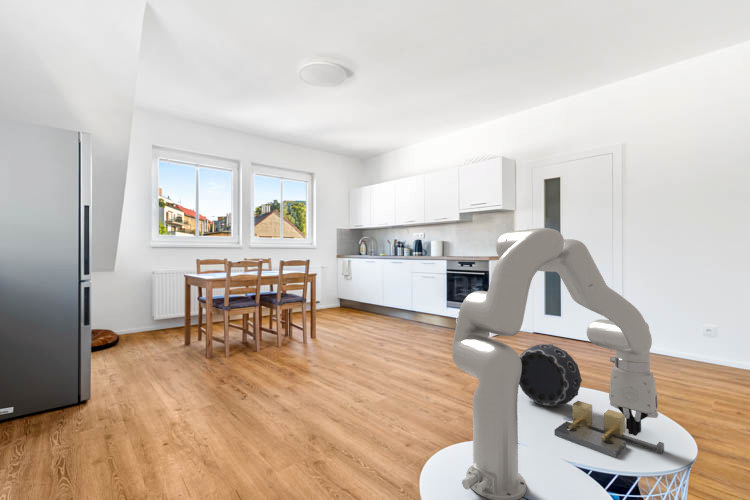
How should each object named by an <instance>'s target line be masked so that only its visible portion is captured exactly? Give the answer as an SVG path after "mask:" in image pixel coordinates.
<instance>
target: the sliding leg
mask: <svg viewBox="0 0 750 500" xmlns="http://www.w3.org/2000/svg"><path fill="white" fill-rule="evenodd" d="M603 428H604V432H606V433H605V434H604V435H603V436H602V437H601V440H604V441H605V440H606V439H607V438H608V437H610V436H611V435H612V434H614V435H617V436H620V437H621V436H622V435H625V434H626V418H625V417H624V414H623V413H622V412H619V411H615V410H611V409H607V410H606V411H605V412H603Z"/></svg>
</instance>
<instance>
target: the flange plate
mask: <svg viewBox="0 0 750 500" xmlns="http://www.w3.org/2000/svg"><path fill="white" fill-rule="evenodd" d="M571 423H572V422H570V421H564V422H563V423H562V424H560V425H559V426H558V427H556V428H555V429H554V431H553V432H554V436H555V437H559V438H562V439H565V440H567V441H569V442H572V443H575V444H578V445H580V446H583V447H585V448H589V449H591V450H593V451H597V452H599V453H602V454H605V455H607V456H610V457H611V458H612V457H613V458H615V459H617V458H618V456H619V455H620V454H621V453H622V452H623V451H624V450H625V449H626V448H627V442H626V441H624V440H621V439H618V438H615V437H612V436H610V437H608V438H607V439H606V440H605V441H604V440H601V437H602V436H603V435H604V434H603V433H600V432H597V431H594V430H591V429H588V428H585V427H582V426H579V425H577V426H575V427H574V428H573V429H569V425H570V424H571Z"/></svg>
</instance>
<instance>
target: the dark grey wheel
mask: <svg viewBox="0 0 750 500" xmlns="http://www.w3.org/2000/svg"><path fill="white" fill-rule="evenodd" d="M519 357H520V359H521V363H522V372H521V377H520V382H519V388H520V389H521V391H522V392H523V393H524V394H525V395H526V396H527V397H528V399H530V400H531V401H533V402H535V403H537V404H539V405H541V406H545V407H550V408H551V407H553V408H554V407H560V406H563V405H566V404H568V403H570V402H571V401H573V399H574V398H575V397H577V396H578V395H579V390H580V388H581V384H582V382H583V379H582V377H581V373H580V368H579V365H578V363H577V362H576V361H575V359H573V357H572V356H571V355H570V353H568V351H567V350H565V349H562V348H560V347H558V346H555V345H553V344H552V343H548V344H546V343H544V344H543V343H542V344H541V343H540V344H535V345H533V346H531V347H528V348H526V349H525V350H524V351H523V352H521V354H520V355H519Z"/></svg>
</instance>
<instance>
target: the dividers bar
mask: <svg viewBox="0 0 750 500" xmlns="http://www.w3.org/2000/svg"><path fill="white" fill-rule="evenodd" d="M593 416H594V414H593V404H592V403H591V404H590V403H589V402H588V403H587V402H584V401H580V400H576V401H575V402H573V403H572V422H570V423H571V424H570V425H569V429H573V428H574V427H575V426H577V425H579V426H582V427H585V428H588V429H591V430H594V431H597V432H600V433H603V434H605V433H606V432H604V427H602V426H598V425H595V424H593V423H594V421H593V420H594V418H593ZM611 436H612V437H615V438H618V439H621V440H624V441H626V443H630V444H632V445H636V446H637V447H638V446H639V447H642V448H645V449H648V450H650V451H654V452H656V453H657V454H659V455H663V453H664V452H665V443H664V442H662V441H658V443H657V444H654V443H651V442H647V441H645V440H642V439H639V438H635V437H632V436H629V435H625V434H623V435H622V436H621V437H620V436H617V435H614V434H612V435H611Z"/></svg>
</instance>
